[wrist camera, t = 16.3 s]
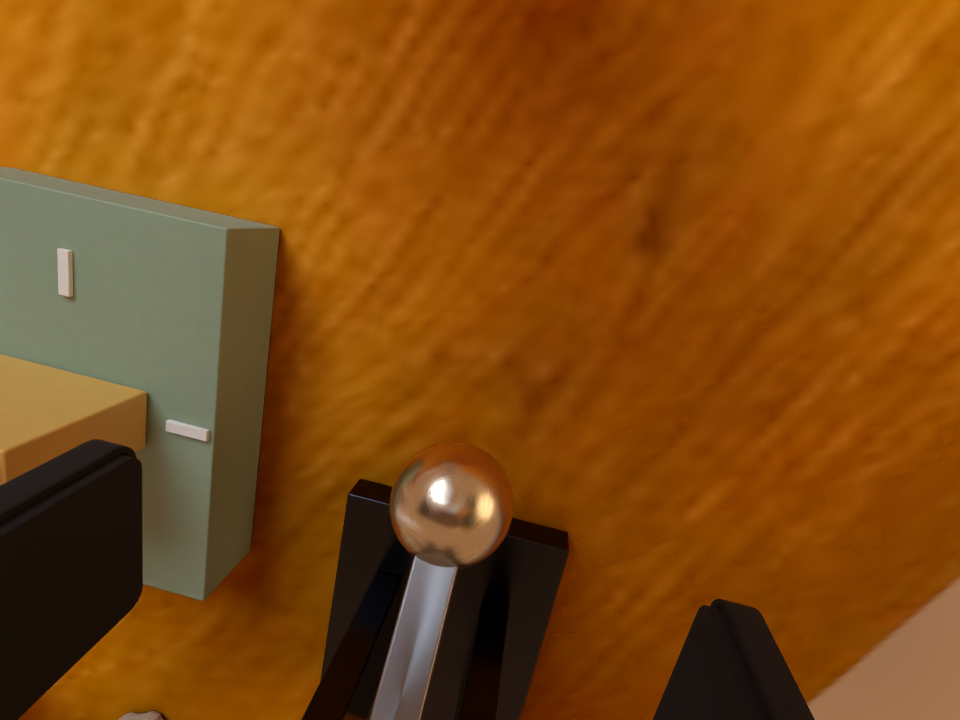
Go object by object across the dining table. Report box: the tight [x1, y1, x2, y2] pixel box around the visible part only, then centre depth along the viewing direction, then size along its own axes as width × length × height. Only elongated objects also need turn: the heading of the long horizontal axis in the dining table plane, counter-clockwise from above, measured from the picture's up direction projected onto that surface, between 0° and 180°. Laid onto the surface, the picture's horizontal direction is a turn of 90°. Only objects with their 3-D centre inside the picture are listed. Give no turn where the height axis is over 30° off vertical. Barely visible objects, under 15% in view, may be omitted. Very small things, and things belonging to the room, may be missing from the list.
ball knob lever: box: [369, 441, 514, 720], centre depth 12 cm, size 13×3×3 cm
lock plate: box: [0, 167, 280, 601], centre depth 18 cm, size 13×10×3 cm
